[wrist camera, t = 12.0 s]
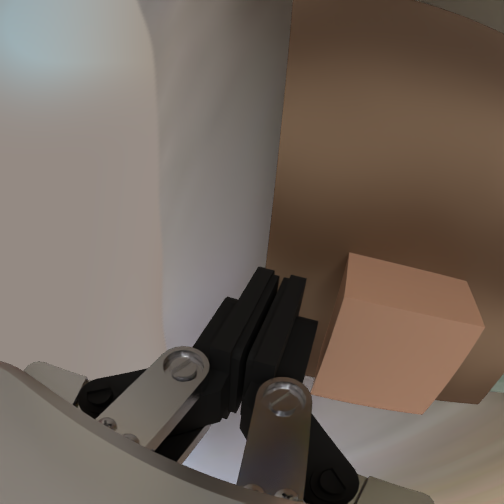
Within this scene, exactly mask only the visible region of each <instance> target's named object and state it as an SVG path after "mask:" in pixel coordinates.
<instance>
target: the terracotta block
mask: <svg viewBox="0 0 504 504" xmlns="http://www.w3.org/2000/svg"><path fill="white" fill-rule="evenodd" d="M484 328H485V325H484V323H483V320H482V317H481V315H480V312H479V310H478V307H477V305H476V302H475V300H474V297H473V295H472V293H471V290H470V288H469V286H468V283H467V281H464V280H460V279H456V278H453V277H449V276H445V275H441V274H437V273H433V272H429V271H425V270H421V269H417V268H412V267H408V266H404V265H400V264H396V263H392V262H388V261H384V260H379V259H375V258H371V257H367V256H363V255H358V254H354V253H350V252H349V255H348V259H347V263H346V267H345V271H344V274H343V278H342V282H341V285H340V289H339V292H338V296H337V299H336V302H335V306H334V309H333V312H332V316H331V319H330V322H329V325H328V328H327V332H326V335H325V338H324V341H323V344H322V347H321V351H320V356H319V360H318V364H317V369H316V373H315V377H314V381H313V385H312V389H311V393H310V394H312V395H316V396H320V397H325V398H329V399H334V400H338V401H343V402H348V403H353V404H358V405H363V406H369V407H374V408H380V409H386V410H392V411H399V412H406V413H413V414H421V415H422V414H423V413H424V412H425V411H426V410H427V409H428V407H429V406H430V405H431V404H432V403H433V401H434V400H435V399H436V398H437V396H438V395H439V394H440V393H441V391H442V390H443V389H444V387H445V386H446V385H447V383H448V382H449V381H450V379H451V378H452V377H453V375H454V374H455V373H456V371H457V370H458V368H459V367H460V366H461V364H462V363H463V361H464V360H465V358H466V357H467V355H468V354H469V352H470V351H471V349H472V348H473V346H474V345H475V343H476V341H477V340H478V338H479V337H480V335H481V333H482V332H483V330H484Z"/></svg>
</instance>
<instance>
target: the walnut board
mask: <svg viewBox="0 0 504 504" xmlns="http://www.w3.org/2000/svg"><path fill="white" fill-rule="evenodd" d="M349 252H350V253H354V254H358V255H363V256H367V257H371V258H375V259H379V260H384V261H388V262H392V263H396V264H400V265H404V266H408V267H412V268H417V269H421V270H425V271H429V272H433V273H437V274H441V275H445V276H449V277H453V278H456V279H460V280H464V281H467V283H468V286H469V288H470V290H471V293H472V295H473V297H474V300H475V302H476V305H477V307H478V310H479V312H480V315H481V317H482V320H483V323H484V325H485V328H484V330H483V332H482V333H481V335H480V337H479V338H478V340H477V341H476V343H475V345H474V346H473V348H472V349H471V351H470V352H469V354H468V355H467V357H466V358H465V360H464V361H463V363H462V364H461V366H460V367H459V368H458V370H457V371H456V373H455V374H454V375H453V377H452V378H451V379H450V381H449V382H448V383H447V385H446V386H445V387H444V389H443V390H442V391H441V393H440V394H439V395H438V396H437V398H436V399H435V400H440V401H449V402H458V403H468V404H479V403H480V402H481V400H482V399H483V398H484V397H485V396H486V395H487V394H488V392H489V391H490V390H491V389H492V388H493V386H494V385H495V384H496V383H497V381H498V380H499V379H500V378H501V376H502V375H503V374H504V34H503V33H501V32H499V31H496V30H494V29H492V28H490V27H488V26H485V25H483V24H481V23H479V22H476V21H474V20H471V19H469V18H466V17H464V16H461V15H458V14H456V13H453V12H450V11H447V10H444V9H441V8H438V7H435V6H432V5H429V4H425V3H422V2H418V1H415V0H293V5H292V17H291V28H290V40H289V51H288V62H287V72H286V83H285V93H284V103H283V113H282V123H281V133H280V143H279V152H278V162H277V171H276V180H275V189H274V199H273V207H272V216H271V225H270V234H269V243H268V251H267V260H266V268H267V269H271V270H274V271H275V275H278V276H280V278H279V285H278V289H279V287H280V285H281V283H282V280H283V278H284V277H286V278H290V276H291V275H295V276H299V277H303V278H307V280H306V285H305V290H304V294H303V298H302V303H301V307H300V311H299V316H301V317H304V318H308V319H312V320H316V321H318V326H317V330H316V334H315V338H314V342H313V346H312V350H311V354H310V358H309V361H308V365H307V369H306V372H305V375H306V376H310V377H315V373H316V369H317V364H318V360H319V356H320V351H321V347H322V344H323V341H324V338H325V335H326V332H327V328H328V325H329V322H330V319H331V316H332V312H333V309H334V306H335V302H336V299H337V296H338V292H339V289H340V285H341V282H342V278H343V274H344V271H345V267H346V263H347V259H348V255H349Z"/></svg>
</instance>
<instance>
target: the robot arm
mask: <svg viewBox="0 0 504 504" xmlns="http://www.w3.org/2000/svg"><path fill="white" fill-rule="evenodd" d="M279 278H280V276H278V275H275V271H274V270H271V269H267V268H263V267H258V268H257V270H256V272H255V273H254V275H253V277H252V278H251V280H250V282H249V283H248V285H247V286H246V288H245V290H244V291H243V293H242V295H241V296H240V298H239V300H237V299H234V298H230V297H227V298H225V300H224V301H223V302H222V304H221V305H220V307H219V308H218V310H217V311H216V313H215V314H214V316H213V317H212V319H211V320H210V322H209V323H208V325H207V326H206V328H205V329H204V331H203V332H202V334H201V335H200V337H199V338H198V340H197V341H196V343H195V344H194V346H193V347H186V346H180V347H174V348H172V349H169V350H167V351H166V352H165V353H163V354H162V355H161V356H160V357H159V358H158V359H157V360H156V361H155V362H154V363H153V364H152V365H151V366H150V367H149V368H147V369H143V370H139V371H134V372H129V373H124V374H119V375H114V376H109V377H104V378H99V379H95V380H92V381H90V380H88V379H87V377H86V376H83V375H79V374H76V373H73V372H70V371H67V370H64V369H62V368H59V367H56V366H53V365H50V364H48V363H45V362H40V361H39V362H34V363H32V364H30V365H28V366H27V367H26V369H25V370H24V371H22V370H21V369H19V368H17V367H15V366H13V365H11V364H8V363H5V362H2V361H0V504H434V501H433V500H432V499H431V497H430V496H428V495H426V494H424V493H422V492H418V491H415V490H411V489H408V488H405V487H401V486H398V485H395V484H392V483H389V482H386V481H383V480H380V479H377V478H374V477H372V476H369V477H368V478H367V477H364V476H361V475H359V474H357V473H356V471H355V469H354V468H353V467H352V465H351V464H350V463H349V462H348V460H347V459H346V458H345V456H344V455H343V454H342V453H341V451H340V450H339V449H338V448H337V446H336V445H335V444H334V442H333V441H332V440H331V438H330V437H329V436H328V435H327V433H326V432H325V431H324V429H323V428H322V427H321V425H320V424H319V423H318V421H317V420H316V419H315V417H314V416H313V415H312V413H311V412H312V397H311V394H310V392H309V390H308V388H307V387H306V386H304V385H303V384H302V383H303V380H304V376H305V372H306V369H307V365H308V361H309V358H310V354H311V350H312V346H313V342H314V338H315V334H316V330H317V326H318V321H316V320H312V319H308V318H304V317H301V316H299V311H300V307H301V303H302V298H303V294H304V290H305V285H306V280H307V278H303V277H299V276H295V275H291V276H290V278H286V277H284V278H283V280H282V283H281V285H280V287H279V289H278V285H279ZM241 402H242V404H241ZM240 404H241V413H240V415H241V422H240V429H241V431H242V433H243V435H244V436H245V438H246V440H247V441H246V445H245V450H244V454H243V459H242V463H241V467H240V472H239V476H238V480H237V484H236V485H235V484H232V483H229V482H226V481H223V480H220V479H217V478H215V477H212V476H209V475H207V474H204V473H201V472H199V471H196V470H194V469H191V468H189V467H187V466H184V465H182V463H183V462H184V461H185V459H186V458H187V457H188V456H189V454H190V453H191V452H192V451H193V449H194V448H195V447H196V445H197V444H198V443H199V441H200V440H201V439H202V438H203V436H204V435H205V434H206V432H207V431H208V430H209V428H210V426H211V424H214V423H217V422H220V421H221V419H222V418H224V419H227V418H228V416H229V414H230V412H234V413H236V412H237V410H238V408H239V406H240Z"/></svg>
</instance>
